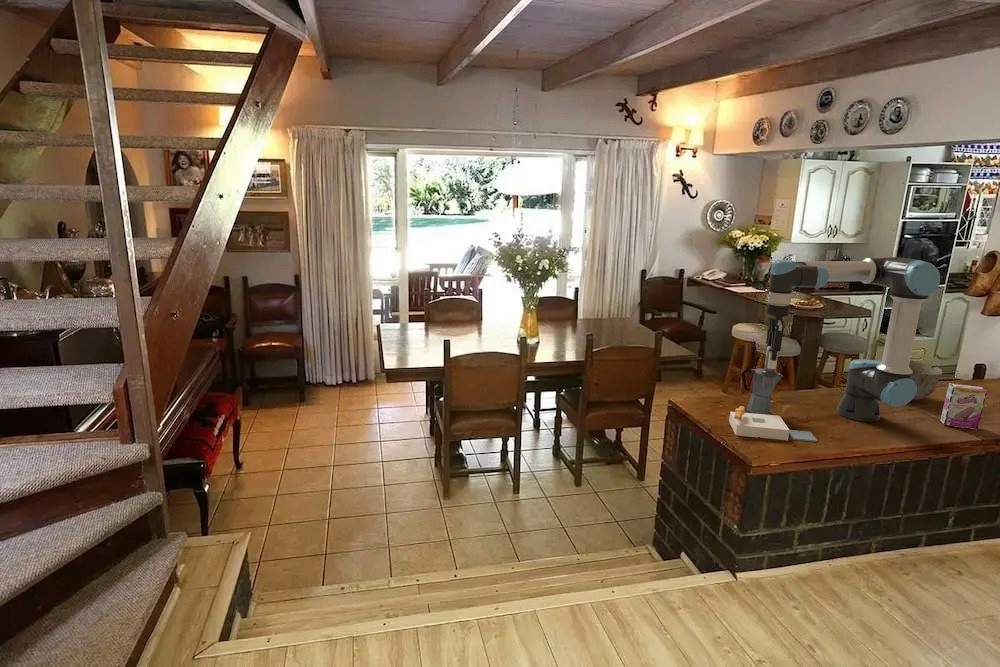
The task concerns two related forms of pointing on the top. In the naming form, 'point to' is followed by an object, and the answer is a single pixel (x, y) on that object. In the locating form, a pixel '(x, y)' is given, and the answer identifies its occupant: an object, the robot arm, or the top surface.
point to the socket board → (759, 426)
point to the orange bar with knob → (739, 412)
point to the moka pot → (759, 392)
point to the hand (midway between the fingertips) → (770, 366)
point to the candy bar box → (963, 405)
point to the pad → (802, 435)
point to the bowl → (924, 378)
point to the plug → (768, 372)
